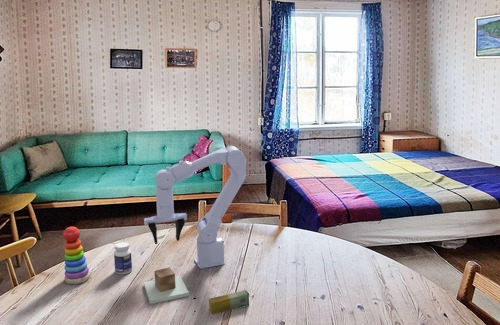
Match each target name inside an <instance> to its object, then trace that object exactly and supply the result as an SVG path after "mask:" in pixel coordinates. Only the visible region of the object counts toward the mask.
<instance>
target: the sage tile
mask: <svg viewBox="0 0 500 325" xmlns="http://www.w3.org/2000/svg"><path fill="white" fill-rule="evenodd" d="M143 286H144V290H145V293H146V296H147V299H148V302H149V304H150V305H152V304H156V303H162V302H167V301H172V300H177V299H181V298H185V297H190V291H189V290H188V288H187V286H186V284H185V283H184V280H183V279H182V276H181V275H175V286H176V288H174V289H170V290H167V291H163V292H160V291H159V290H158V288H157V287H156V286H155V279H154V280H149V281H144V282H143Z"/></svg>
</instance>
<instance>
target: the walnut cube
mask: <svg viewBox="0 0 500 325" xmlns="http://www.w3.org/2000/svg"><path fill="white" fill-rule="evenodd" d="M153 272H154V280H155V286H156V287H157V288H158V290H159V291H160V292H163V291H167V290H170V289H174V288H176V286H175V276H176V273H175V271H173V270H172V268H171V267H166V268H161V269H157V270H154V271H153Z"/></svg>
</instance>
